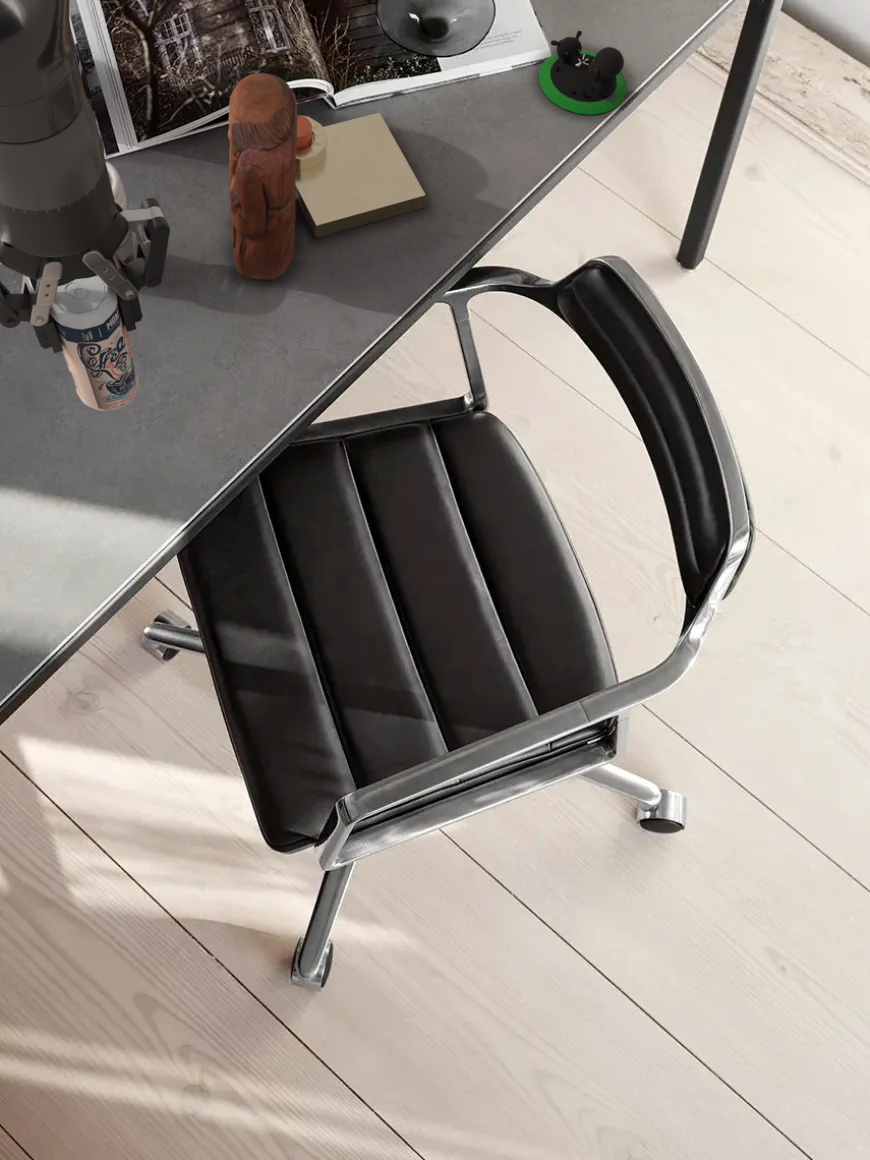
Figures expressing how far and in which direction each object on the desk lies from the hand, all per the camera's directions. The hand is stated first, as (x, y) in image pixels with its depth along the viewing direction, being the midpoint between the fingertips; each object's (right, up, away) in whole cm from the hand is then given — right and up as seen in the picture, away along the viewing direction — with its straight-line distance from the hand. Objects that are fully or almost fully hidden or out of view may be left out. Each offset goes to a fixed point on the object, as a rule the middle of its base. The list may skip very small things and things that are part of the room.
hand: (91, 331), depth 82 cm
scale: (+16, +23, +34) cm, 44 cm away
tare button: (+11, +27, +32) cm, 43 cm away
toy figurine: (+42, +37, +44) cm, 71 cm away
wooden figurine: (+8, +16, +30) cm, 35 cm away
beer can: (-1, -3, +7) cm, 8 cm away
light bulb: (-6, +12, +27) cm, 31 cm away
